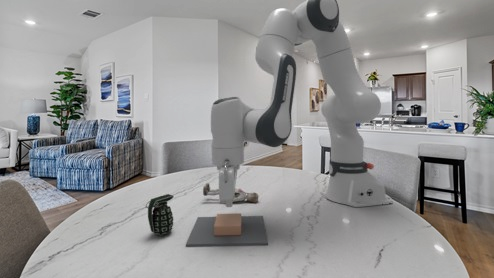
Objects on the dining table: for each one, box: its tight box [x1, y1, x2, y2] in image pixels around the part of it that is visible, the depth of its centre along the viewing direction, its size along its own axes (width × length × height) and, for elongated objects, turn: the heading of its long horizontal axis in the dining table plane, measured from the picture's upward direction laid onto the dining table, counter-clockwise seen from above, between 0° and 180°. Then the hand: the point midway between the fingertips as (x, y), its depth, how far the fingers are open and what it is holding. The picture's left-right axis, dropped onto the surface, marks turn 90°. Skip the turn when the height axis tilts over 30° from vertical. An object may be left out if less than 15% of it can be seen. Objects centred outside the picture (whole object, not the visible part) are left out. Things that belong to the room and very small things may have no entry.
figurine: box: [202, 182, 259, 205], centre depth 91 cm, size 6×6×20 cm
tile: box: [214, 212, 242, 236], centre depth 69 cm, size 7×3×8 cm
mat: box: [185, 215, 269, 248], centre depth 69 cm, size 20×16×1 cm
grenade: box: [145, 193, 174, 237], centre depth 67 cm, size 7×6×10 cm
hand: (229, 205), depth 70 cm, fingers closed
